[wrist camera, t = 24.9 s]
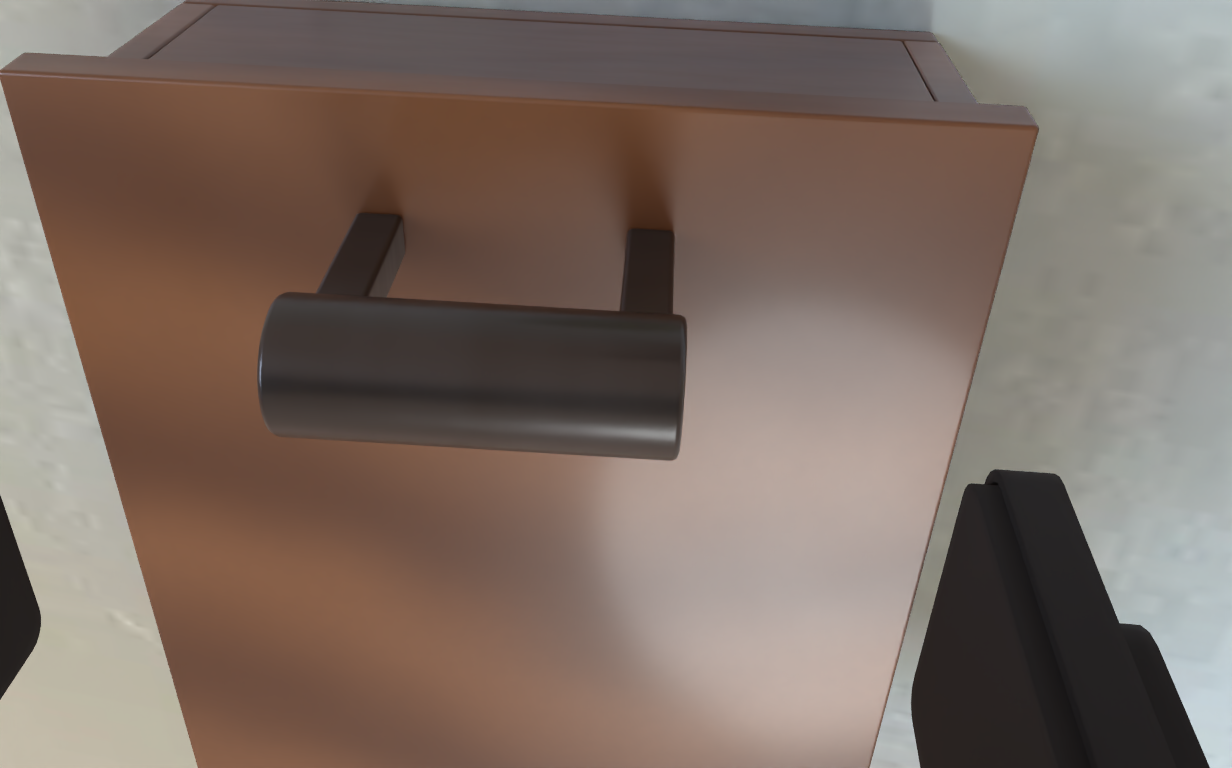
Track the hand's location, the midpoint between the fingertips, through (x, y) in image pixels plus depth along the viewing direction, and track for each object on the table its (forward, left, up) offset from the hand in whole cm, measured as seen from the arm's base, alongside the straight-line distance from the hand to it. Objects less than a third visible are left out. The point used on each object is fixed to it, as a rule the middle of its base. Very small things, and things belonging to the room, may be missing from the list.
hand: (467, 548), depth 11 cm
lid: (+6, 0, -8) cm, 10 cm away
